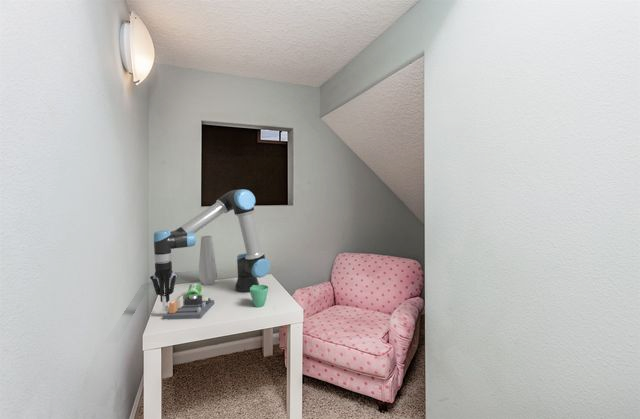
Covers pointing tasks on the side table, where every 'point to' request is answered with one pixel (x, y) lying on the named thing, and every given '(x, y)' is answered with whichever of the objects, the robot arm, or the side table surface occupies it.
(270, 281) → the side table surface
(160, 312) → the side table surface
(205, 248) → the vase
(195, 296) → the button
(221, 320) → the side table surface
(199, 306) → the panel
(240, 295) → the side table surface
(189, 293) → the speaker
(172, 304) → the fader
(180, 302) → the fader
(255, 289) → the mug
